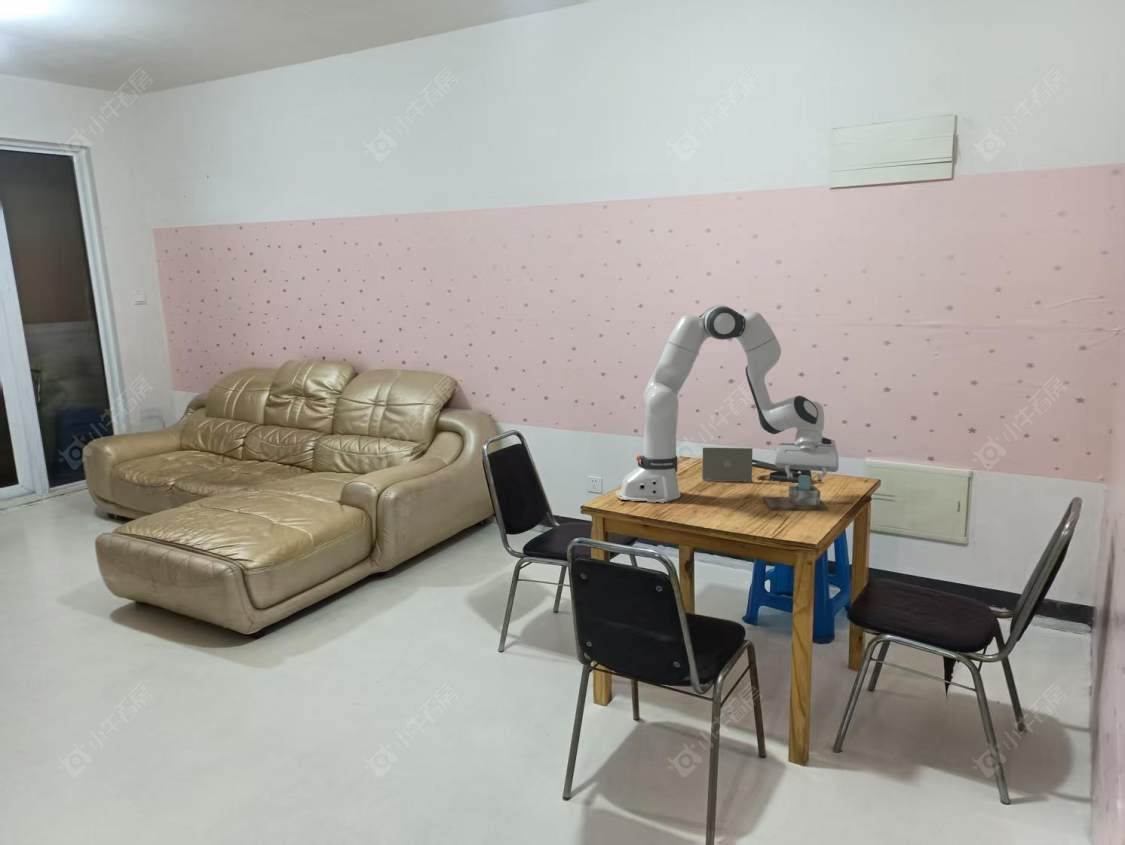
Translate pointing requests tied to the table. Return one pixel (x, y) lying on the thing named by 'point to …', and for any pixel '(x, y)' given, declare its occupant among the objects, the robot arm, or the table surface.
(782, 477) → the black stapler
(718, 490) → the table surface
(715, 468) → the laptop
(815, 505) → the walnut socket board
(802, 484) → the teal rounded oblong piece
